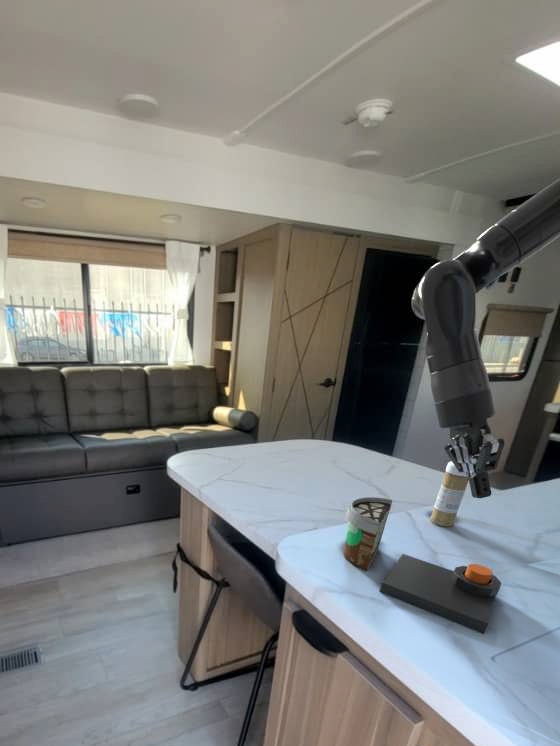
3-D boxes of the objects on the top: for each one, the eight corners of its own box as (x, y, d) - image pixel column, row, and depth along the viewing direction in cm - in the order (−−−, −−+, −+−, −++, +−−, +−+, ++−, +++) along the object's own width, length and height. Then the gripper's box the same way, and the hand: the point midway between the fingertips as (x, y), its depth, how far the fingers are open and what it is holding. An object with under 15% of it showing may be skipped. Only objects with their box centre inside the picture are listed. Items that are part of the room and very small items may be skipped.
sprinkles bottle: (452, 521, 89) (473, 462, 83) (453, 529, 85) (476, 469, 80) (428, 516, 91) (447, 458, 85) (429, 524, 87) (449, 464, 81)
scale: (494, 594, 65) (503, 576, 64) (484, 634, 56) (493, 615, 55) (400, 561, 73) (406, 544, 72) (379, 592, 65) (384, 574, 63)
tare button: (489, 578, 64) (494, 569, 63) (487, 587, 61) (491, 577, 61) (466, 570, 65) (469, 561, 65) (462, 578, 63) (466, 569, 62)
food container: (346, 536, 81) (357, 490, 77) (379, 546, 78) (393, 499, 74) (328, 563, 72) (339, 512, 68) (364, 575, 69) (379, 523, 64)
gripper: (514, 379, 58) (536, 494, 60) (462, 393, 71) (481, 488, 73) (459, 394, 60) (482, 507, 61) (418, 406, 73) (437, 498, 74)
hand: (482, 496), depth 67 cm, fingers closed
